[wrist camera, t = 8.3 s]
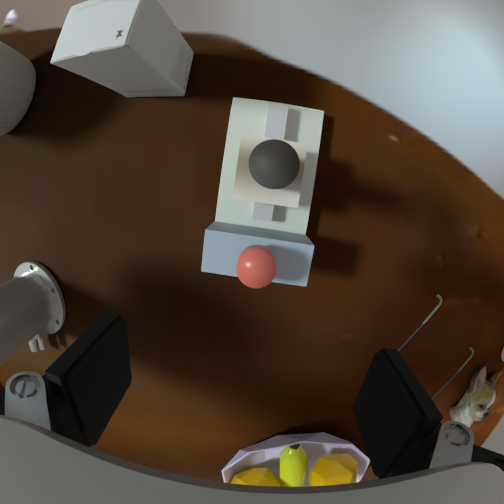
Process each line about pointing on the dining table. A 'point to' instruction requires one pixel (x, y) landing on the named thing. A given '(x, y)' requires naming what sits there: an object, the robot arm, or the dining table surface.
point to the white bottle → (502, 354)
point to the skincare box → (125, 47)
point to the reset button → (256, 266)
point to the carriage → (269, 170)
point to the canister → (14, 87)
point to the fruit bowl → (297, 462)
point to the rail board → (254, 126)
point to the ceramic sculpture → (476, 398)
